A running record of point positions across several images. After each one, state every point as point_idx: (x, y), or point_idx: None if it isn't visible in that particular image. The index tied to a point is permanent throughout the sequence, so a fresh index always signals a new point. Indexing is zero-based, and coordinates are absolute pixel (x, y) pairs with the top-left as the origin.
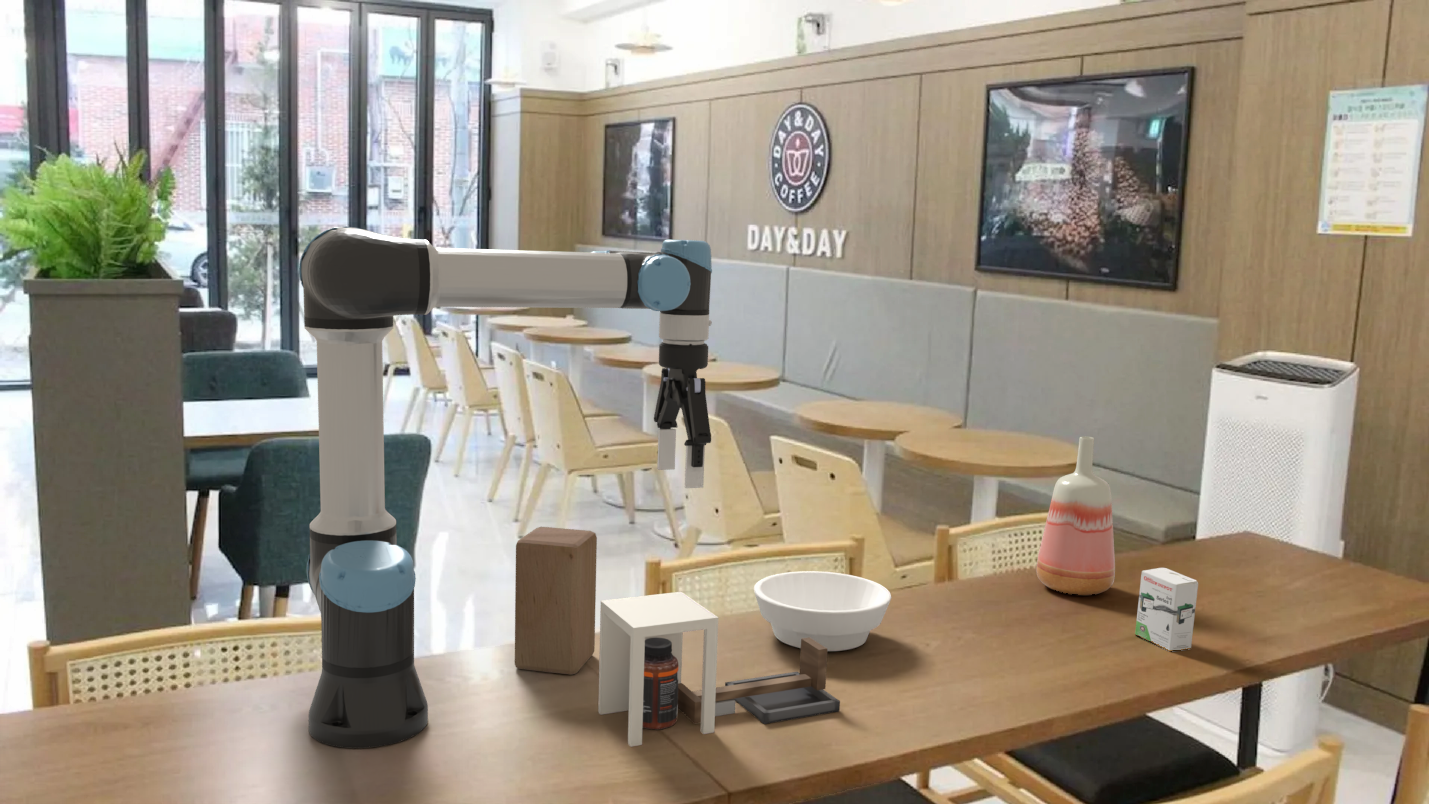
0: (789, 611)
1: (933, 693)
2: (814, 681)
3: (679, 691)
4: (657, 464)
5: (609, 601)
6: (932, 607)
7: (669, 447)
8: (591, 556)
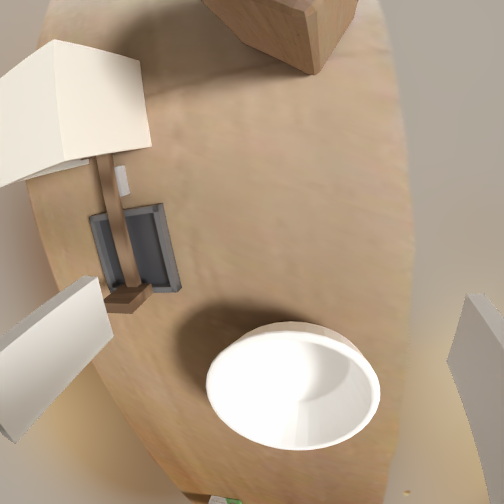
0: (235, 341)
1: (148, 371)
2: (122, 286)
3: None
4: (492, 305)
5: (48, 51)
6: (340, 462)
7: (487, 414)
8: (259, 13)
